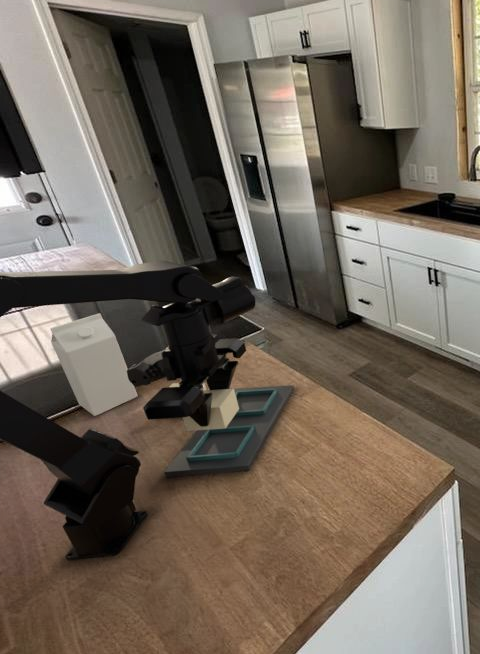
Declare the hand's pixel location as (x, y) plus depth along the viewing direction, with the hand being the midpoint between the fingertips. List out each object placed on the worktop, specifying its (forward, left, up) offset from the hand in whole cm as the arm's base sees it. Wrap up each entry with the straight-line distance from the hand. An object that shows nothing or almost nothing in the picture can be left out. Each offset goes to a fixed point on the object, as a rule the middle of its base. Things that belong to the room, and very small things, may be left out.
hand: (213, 414), depth 72 cm
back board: (+6, 0, -8) cm, 10 cm away
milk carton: (+17, +30, -8) cm, 35 cm away
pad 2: (0, 0, -1) cm, 1 cm away
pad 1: (+13, +13, -8) cm, 20 cm away
